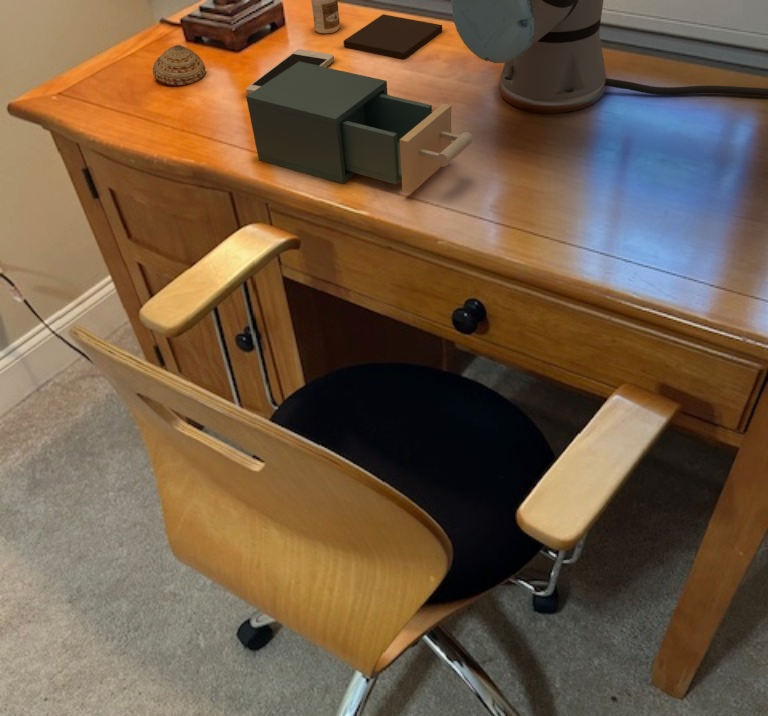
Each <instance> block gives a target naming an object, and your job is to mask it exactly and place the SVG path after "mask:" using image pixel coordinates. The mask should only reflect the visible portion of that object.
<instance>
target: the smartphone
mask: <svg viewBox="0 0 768 716" xmlns="http://www.w3.org/2000/svg"><path fill="white" fill-rule="evenodd" d="M299 61H300V62H304V63H309V64H313V65H318V66H322V67H327V68H328V66H330V65H331V64H332V63H334V61H335V55H334V54H333V53H327V52H320V51H314V50H307V49H302V48H298V49H296V50H294V51H293V52H292V53H290V54H289V55H288V56H286V57H285V58H284V59H282V60H281V61H280V62H279V63H277V64H276V65H274V67H272V68H270V69H269V70H268V71H267V72H265V73H264V74H263V75H262V76H260V77H258V78H257V79H256V80H255V81H253V82H252V83H251V84H249V85H248V86H247V87H246V88H245V90H246V94H247V95H249V94H250V93H252V92H254V91H255V90H257V89H258V88H260V87H261V86H263V85H264V84H266V83H267V82H269V81H270V80H272V79H273V78H275V77H276V76H278V75H279V74H281V73H282V72H284V71H285V70H287V69H288V68H290V67H291V66H293V65H294V64H296V63H297V62H299Z"/></svg>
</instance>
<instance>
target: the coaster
mask: <svg viewBox="0 0 768 716" xmlns="http://www.w3.org/2000/svg"><path fill="white" fill-rule="evenodd" d="M441 33H443V24H439V23H433V22H428V21H422V20H417V19H411V18H405V17H400V16H394V15H390V14H384V13H383V14H381V15H380V16H378V17H376V18H375V19H373V20H372V21H371V22H369V23H368V24H366V25H365V26H363V27H361V28H360V29H359V30H357V31H356V32H354V33H353V34H351V35H349V36H348V37H347V38H345V39H344V40H343V47H344V48H346V49H347V48H348V49H351V50H352V49H353V50H358V51H363V52H367V53H372V54H377V55H380V56H385V57H390V58H396V59H399V60H400V59H401V60H405V59H407V58H409V56H411V55H412V54H414V53H415V52H416V51H418V50H419V49H420V48H422V47H423V46H424V45H426V44H427V43H429V42H430V41H431V40H433V39H434V38H435V37H437V36H438V35H439V34H441Z"/></svg>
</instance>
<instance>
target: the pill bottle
mask: <svg viewBox="0 0 768 716" xmlns="http://www.w3.org/2000/svg"><path fill="white" fill-rule="evenodd" d="M310 1H311V7H312V15H313V24H314V30H315V32H316V33H318V34H332V33H335V32H337V31H338V30H339V29H340V28H341V23H340V12H339V11H340V10H339V2H338V1H339V0H310Z"/></svg>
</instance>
